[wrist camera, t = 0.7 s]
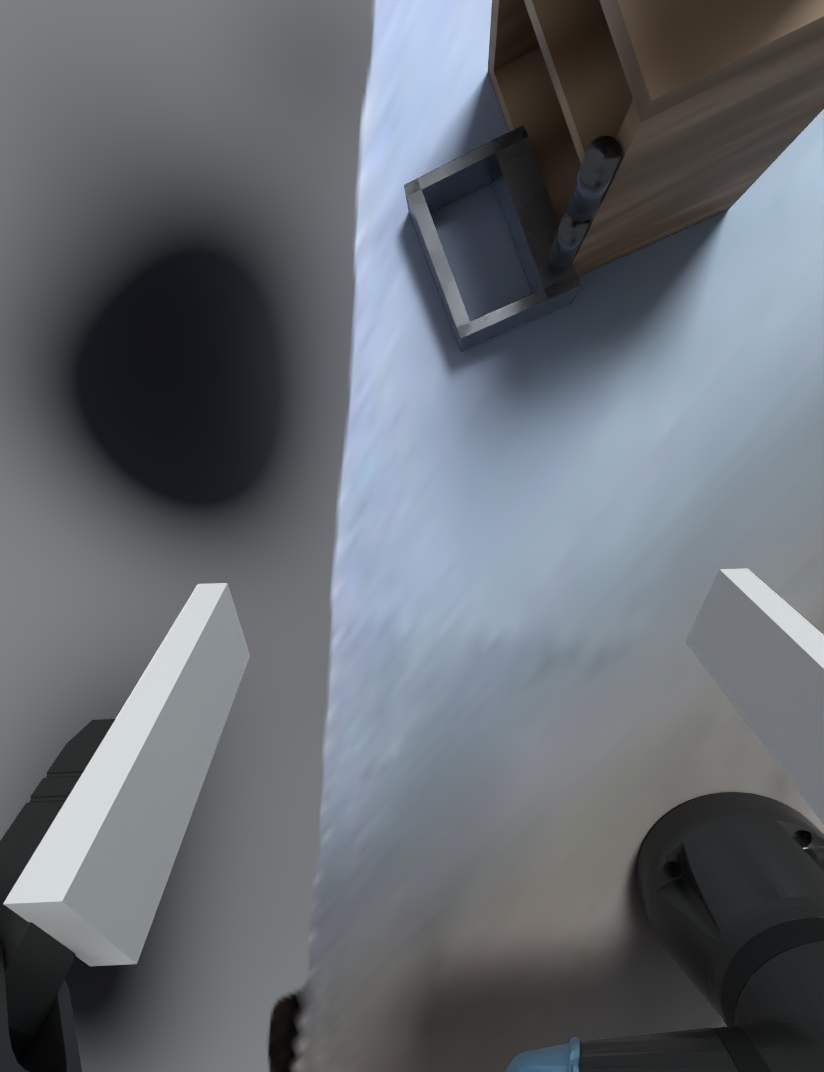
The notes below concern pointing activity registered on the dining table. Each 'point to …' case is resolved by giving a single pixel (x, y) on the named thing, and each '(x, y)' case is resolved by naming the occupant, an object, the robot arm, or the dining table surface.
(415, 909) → the dining table surface
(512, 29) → the wood-grain box
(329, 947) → the dining table surface
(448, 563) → the dining table surface
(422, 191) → the grey drawer
